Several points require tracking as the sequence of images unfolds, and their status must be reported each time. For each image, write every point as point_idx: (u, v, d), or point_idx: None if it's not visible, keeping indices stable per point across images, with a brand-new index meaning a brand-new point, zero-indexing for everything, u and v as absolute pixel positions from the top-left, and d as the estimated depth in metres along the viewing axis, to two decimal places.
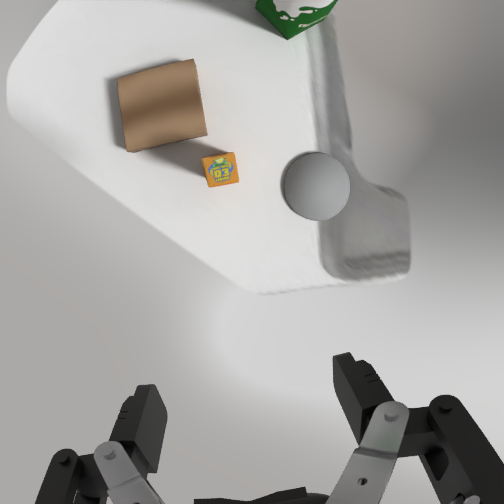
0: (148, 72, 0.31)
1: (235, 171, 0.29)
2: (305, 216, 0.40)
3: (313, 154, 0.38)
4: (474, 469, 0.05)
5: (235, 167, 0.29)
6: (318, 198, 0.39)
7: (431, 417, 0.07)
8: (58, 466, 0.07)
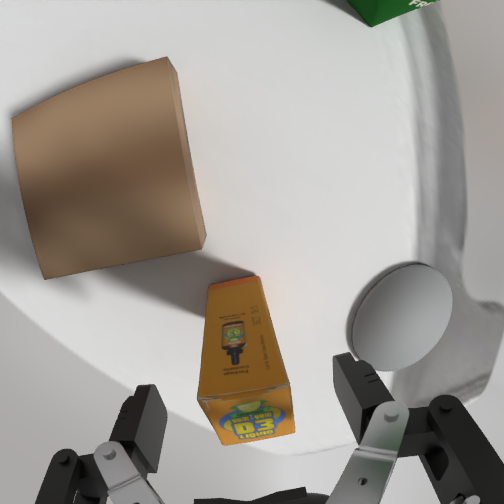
0: (66, 97, 0.12)
1: (290, 421, 0.10)
2: (379, 368, 0.21)
3: (410, 270, 0.19)
4: (474, 469, 0.05)
5: (291, 412, 0.10)
6: (404, 340, 0.21)
7: (431, 417, 0.07)
8: (58, 466, 0.07)
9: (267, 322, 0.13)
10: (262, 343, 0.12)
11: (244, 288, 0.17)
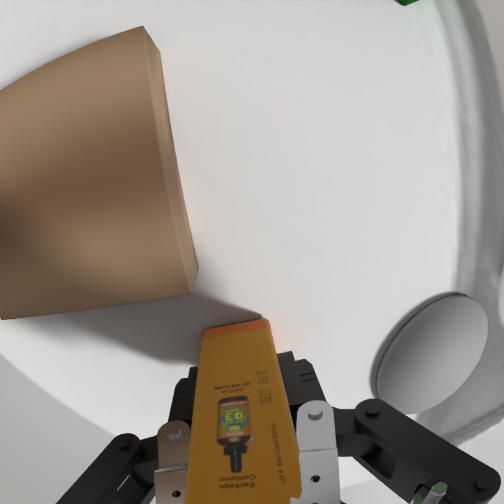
0: (16, 88, 0.08)
1: None
2: (403, 411, 0.17)
3: (448, 303, 0.15)
4: (427, 460, 0.06)
5: None
6: (433, 380, 0.16)
7: (360, 424, 0.08)
8: (115, 450, 0.08)
9: (280, 400, 0.09)
10: (274, 436, 0.08)
11: (248, 339, 0.13)
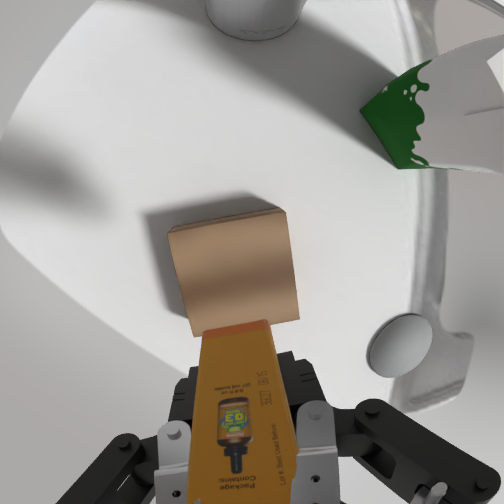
0: (217, 229, 0.25)
1: None
2: (385, 375, 0.34)
3: (405, 318, 0.32)
4: (427, 460, 0.06)
5: None
6: (400, 358, 0.33)
7: (360, 424, 0.08)
8: (115, 450, 0.08)
9: (281, 402, 0.09)
10: (274, 437, 0.08)
11: (249, 339, 0.13)
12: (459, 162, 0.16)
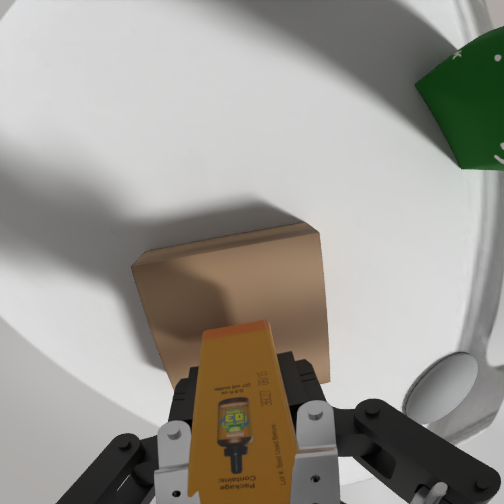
0: (209, 260, 0.15)
1: None
2: (420, 423, 0.24)
3: (453, 359, 0.22)
4: (427, 460, 0.06)
5: None
6: (440, 403, 0.24)
7: (360, 424, 0.08)
8: (115, 450, 0.08)
9: (281, 402, 0.09)
10: (274, 438, 0.08)
11: (249, 340, 0.13)
12: None
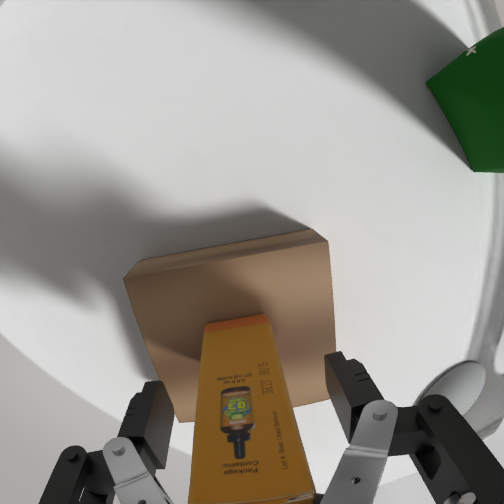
0: (208, 272, 0.14)
1: None
2: None
3: (461, 369, 0.21)
4: (467, 467, 0.05)
5: None
6: None
7: (421, 417, 0.07)
8: (66, 463, 0.07)
9: (281, 390, 0.09)
10: (276, 424, 0.08)
11: (249, 333, 0.13)
12: None
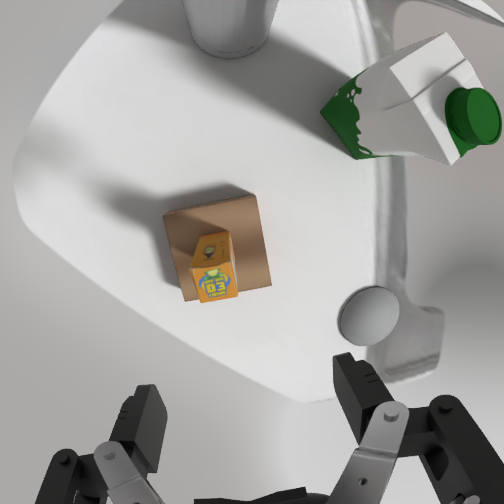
0: (202, 211, 0.31)
1: (233, 285, 0.23)
2: (357, 344, 0.40)
3: (371, 290, 0.38)
4: (474, 469, 0.05)
5: (233, 280, 0.23)
6: (370, 328, 0.40)
7: (431, 417, 0.07)
8: (58, 466, 0.07)
9: (227, 245, 0.27)
10: (222, 251, 0.25)
11: (219, 235, 0.30)
12: (390, 148, 0.23)
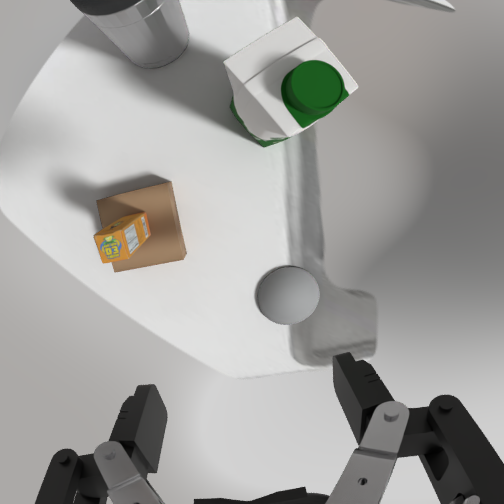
0: (125, 196, 0.36)
1: (123, 249, 0.28)
2: (277, 321, 0.45)
3: (285, 269, 0.43)
4: (474, 469, 0.05)
5: (124, 245, 0.28)
6: (289, 306, 0.44)
7: (431, 417, 0.07)
8: (58, 466, 0.07)
9: (131, 220, 0.31)
10: (123, 224, 0.30)
11: (135, 215, 0.35)
12: (259, 131, 0.27)
